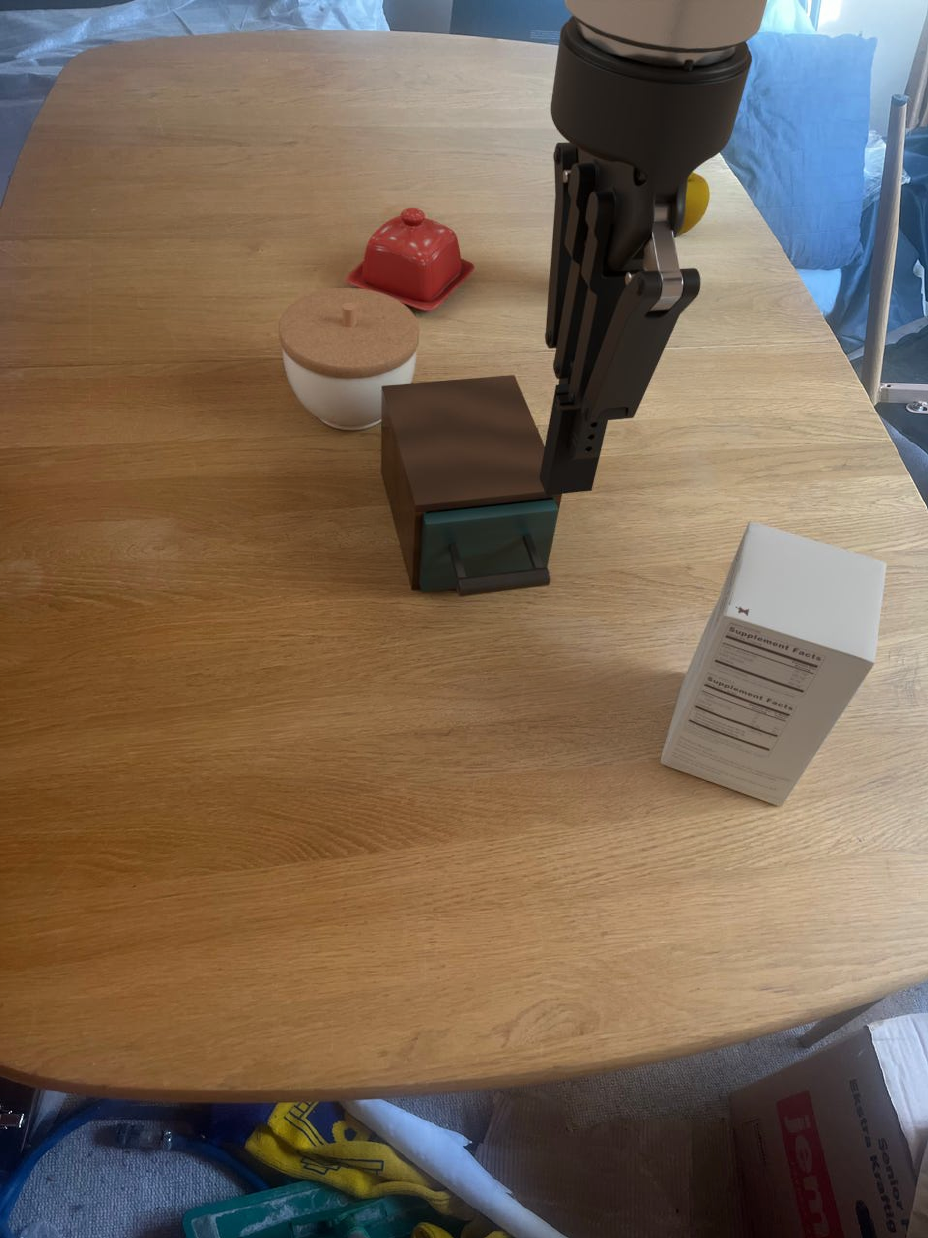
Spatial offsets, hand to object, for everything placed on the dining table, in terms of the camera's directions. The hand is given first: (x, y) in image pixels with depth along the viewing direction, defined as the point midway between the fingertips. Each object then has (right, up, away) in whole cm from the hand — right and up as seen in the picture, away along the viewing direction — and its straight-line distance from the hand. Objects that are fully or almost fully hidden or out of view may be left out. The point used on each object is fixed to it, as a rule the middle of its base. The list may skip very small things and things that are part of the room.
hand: (565, 483), depth 55 cm
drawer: (-5, -2, +26) cm, 27 cm away
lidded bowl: (-17, +13, +39) cm, 44 cm away
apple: (+20, +41, +65) cm, 79 cm away
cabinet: (-6, +1, +29) cm, 30 cm away
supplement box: (+14, -17, +17) cm, 28 cm away
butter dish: (-12, +30, +53) cm, 62 cm away
